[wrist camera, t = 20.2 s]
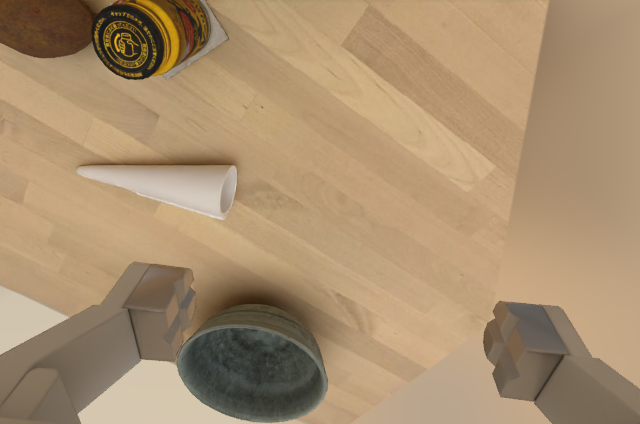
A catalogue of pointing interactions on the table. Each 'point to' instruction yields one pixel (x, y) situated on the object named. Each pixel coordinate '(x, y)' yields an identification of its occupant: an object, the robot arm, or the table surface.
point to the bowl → (254, 364)
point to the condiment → (154, 36)
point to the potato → (45, 26)
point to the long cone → (174, 184)
